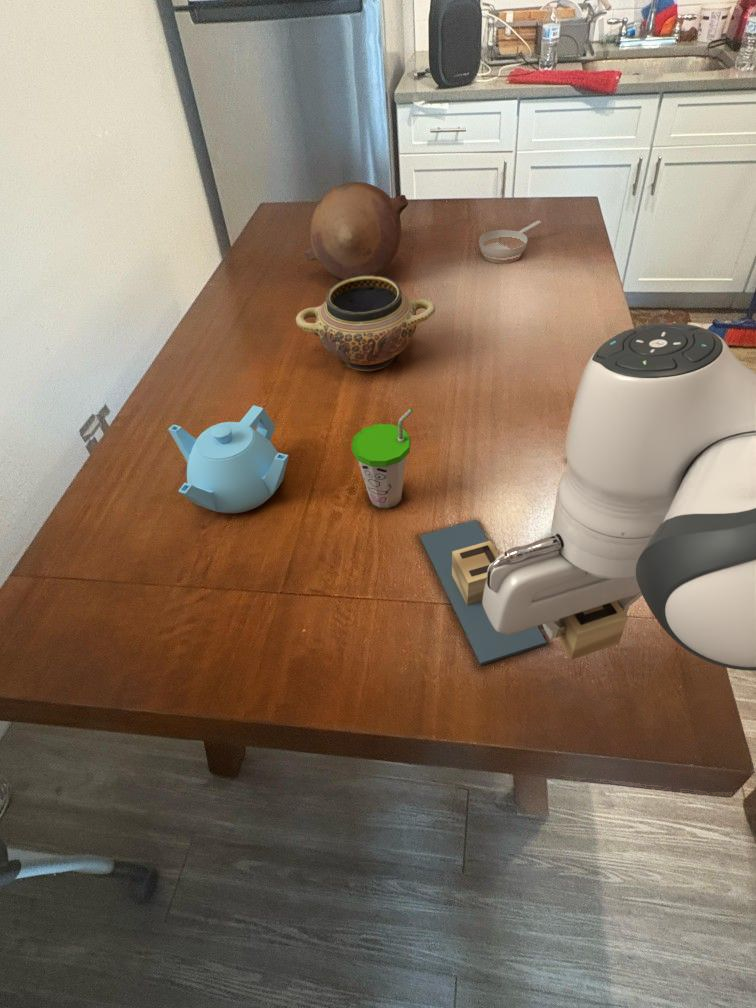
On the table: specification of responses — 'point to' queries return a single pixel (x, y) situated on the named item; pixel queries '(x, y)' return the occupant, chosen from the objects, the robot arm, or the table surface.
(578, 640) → the tile
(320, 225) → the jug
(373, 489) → the cup
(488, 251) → the saucepan
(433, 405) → the table surface
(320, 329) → the ceramic bowl
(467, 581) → the tile
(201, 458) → the teapot
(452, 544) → the mat
